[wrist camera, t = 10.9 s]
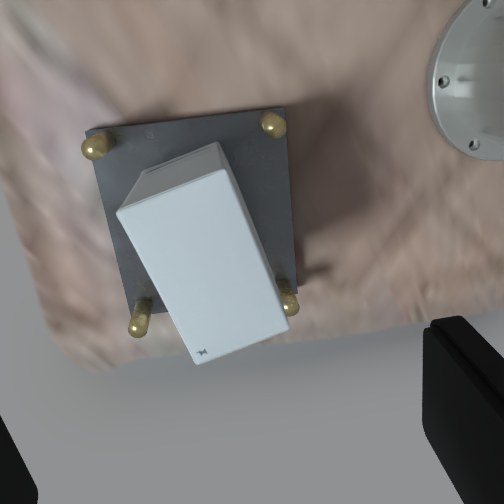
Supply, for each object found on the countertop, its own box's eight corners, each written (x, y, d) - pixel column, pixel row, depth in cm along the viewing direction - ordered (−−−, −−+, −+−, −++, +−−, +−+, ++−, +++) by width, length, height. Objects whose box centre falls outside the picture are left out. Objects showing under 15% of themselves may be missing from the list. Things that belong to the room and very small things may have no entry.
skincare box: (270, 260, 35) (294, 332, 25) (196, 288, 35) (192, 370, 26) (221, 136, 31) (228, 166, 21) (139, 170, 31) (108, 214, 21)
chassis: (282, 106, 31) (293, 112, 27) (295, 288, 37) (306, 315, 33) (88, 129, 31) (70, 138, 26) (133, 310, 36) (123, 341, 32)
